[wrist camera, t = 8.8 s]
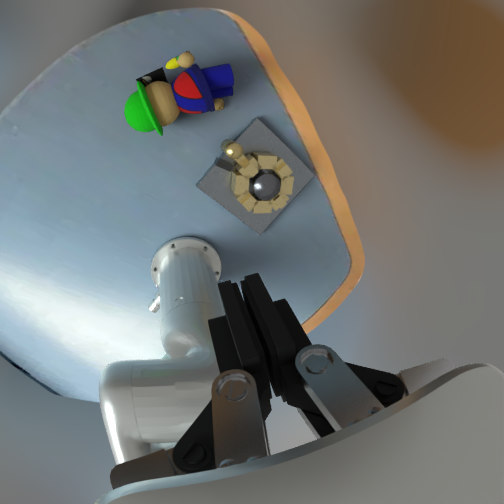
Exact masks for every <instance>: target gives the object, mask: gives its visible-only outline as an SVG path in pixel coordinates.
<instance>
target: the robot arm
mask: <svg viewBox="0 0 504 504" xmlns="http://www.w3.org/2000/svg"><path fill="white" fill-rule="evenodd" d="M172 244H174V245H172ZM205 246H206V247H205ZM155 267H156V268H155ZM221 267H222V266H221V261H220V258H219V255H218V253H217V252H216V250H215V249H214V248H213V247H212V246H211V245H210V244H209V243H207V242H206V241H203V240H201V239H198V238H195V237H179V238H176V239H173V240H170V241H168V242H166V243H165V244H164V245H162V246H161V247H160V248H159V249H158V250H157V252H156V253H155V255H154V257H153V260H152V264H151V275H152V279H153V281H154V283H155V285H156V286H157V288H158V291H157V293H156V297H155V299H153V300H152V302H151V303H150V304H149V306H148V307H149V309H150V310H151V311H152V312H154V313H156V312H157V311H158V310H159V309H160V334H161V341H162V344H163V347H164V349H165V351H166V353H167V355H168V356H169V357H170V359H153V360H126V361H116V362H113V363H110V364H108V365H107V366H106V367H105V368H104V369H103V370H102V373H101V375H100V379H99V400H100V406H101V411H102V416H103V420H104V424H105V428H106V431H107V435H108V438H109V442H110V445H111V449H112V452H113V455H114V458H115V461H116V464H117V465H116V466H115V467H114V468H113V469H112V470H111V473H110V482H111V485H112V488H113V490H112V491H110V492H108V493H106V494H105V495H103V496H102V497H100V498H99V499H98V500H97V501H96V503H95V504H504V374H503V373H502V372H501V371H500V370H499V369H498V368H496V367H495V366H493V365H490V364H487V363H474V364H468V365H465V366H461V367H458V368H456V366H455V365H454V364H453V363H452V362H451V361H449V360H447V359H437V360H434V361H431V362H428V363H425V364H422V365H419V366H415V367H412V368H409V369H405V370H401V371H400V372H399V374H395V375H394V374H391V373H387V372H383V371H379V370H375V369H371V368H367V367H362V366H358V365H354V364H350V363H347V362H344V361H343V360H342V359H341V358H340V357H339V356H338V355H337V353H336V352H335V351H334V350H332V349H331V348H330V347H328V346H325V345H320V344H315V345H312V344H311V342H310V340H309V338H308V337H307V335H306V333H305V332H304V330H303V328H302V326H301V325H300V323H299V321H298V319H297V318H296V316H295V314H294V312H293V311H292V309H291V307H290V306H289V304H288V302H287V301H286V299H281V300H278V301H274V302H273V301H272V299H271V297H270V295H269V293H268V291H267V289H266V287H265V285H264V284H263V282H262V280H261V278H260V276H259V274H258V273H255V274H252V275H248V276H245V280H243V281H240V283H241V288H242V293H243V298H244V300H243V298H242V295H241V293H240V290H239V287H238V285H237V283H231V281H230V280H229V281H225V282H221V283H218V280H219V278H220V275H221ZM269 381H270V382H269ZM270 383H271V386H272V388H273V391H274V393H275V396H276V397H278V396H281V397H282V399H283V402H286V401H287V403H288V405H291V406H294V407H296V408H297V410H298V412H299V413H300V415H301V416H302V418H303V419H304V421H305V422H306V424H307V425H308V427H309V428H310V429H311V431H312V432H313V434H314V435H315V437H316V438H317V440H315V441H312V442H309V443H307V444H304V445H301V446H298V447H295V448H292V449H289V450H286V451H283V452H280V453H277V454H274V455H271V452H270V446H269V440H268V435H267V429H266V423H265V420H266V418H267V417H268V415H269V413H270V412H271V410H272V409H271V404H270V399H271V398H272V394H271V388H270Z"/></svg>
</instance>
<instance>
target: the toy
mask: <svg viewBox="0 0 504 504" xmlns="http://www.w3.org/2000/svg"><path fill="white" fill-rule="evenodd" d="M193 63H194V56H193V55H192V54H190V52H189V51H187V52H186V53H182V54H181V55H180V56H178V57H175V58H173V59H171V60H170V61H169V62H168V63H167V64H166V68H167V69H174V68H177V67H179V66H181V67H184V68H187V67H190V66H191V65H192V64H193ZM136 80H137V87H138V91H136V92H135V93H133V94H132V95H131V96H130V97H129V99H128V100H127V102H126V105H125V118H126V120H127V122H128V124H129V125H130V126H131V127H132V128H134V129H135V130H137V131H141V132H149V131H153V130H155V129H156V131H157V132H158V133H159V134H160V135H161V136H162V135H163V130H162V126H167V125H169V124H171V123H172V122H173V121H175V120H176V118H177V117H178V115H179V112H180V111H182V112H185V113H190V114H198V113H205V112H208V111H211V112H212V111H215V110H217V111H219V110H222V109H223V108H224V103H223V100H222V97H227V96H231V95H233V87H232V86H233V85H234V78H233V72H232V69H231V66H230V64H224V65H218V66H213V67H209V68H204V69H200V68H199V66H198V65H197V64H193V65H192V67H190V68H188V69H186V70H185V71H183V72H182V73H181V74H179V75H178V76H177V78H176V79H175V80H174V81H173V83H172V85H170V84H168V82H167V79H166V76H165V73H164V70H163V67H162V68H160V69H157V70H155V71H153V72H151V73H149V74H146V75H144V76H142V77H140V78H138V79H136Z"/></svg>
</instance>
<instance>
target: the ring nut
mask: <svg viewBox="0 0 504 504" xmlns="http://www.w3.org/2000/svg"><path fill="white" fill-rule="evenodd" d="M221 149H222V151H223V152H224V153H225V154H226V155H227V156H228V157H229V158H231V159H234V160H235V161H236V162H237V164H236V165H235V166H234V167H235V168H236V169H237V170H238V171H232V179H231V190H232V191H233V195H234V196H235V197H236V199H237V200H238V201H239V202H240V203H241V204H242V205H243V206H244V207H245V208H246V209H247V210H248V211H250V210H251V211H252V212H253V213H271V212H272V208H273V209H274V210H275V211H277V210H278V209H279V208H281V209H282V208H283V207H284V206H285V205H286V204H287V203H286V201H288V200H289V198H288V196H287V195H286V194H290V195H292V189H293V181H294V176H292V175H291V173H292V171H291V169H290V168H289V167H288V165H287V164H286V163H285V162H284V161H283V159H282V158H280V157H278V156H276V155H274V154H272V153H265V152H253V155H252V156H251V155H249V154H247V155H246V156H244V155H243V148H242V146H241V145H239V144H238V143H236V142H234V141H233V140H231V139H226V140H224V141H223V142H222V144H221ZM259 169H271V170H272V171H273V172H274V174H275V176H276V177H277V178H278V179H279V181H280V191H279V193H278V194H277V196H276V197H274V198H273V199H270V200H262V199H260V198H258V197H257V196H256V195H252V194H251V193H250V192H249V178H250V177H251V176H252V177H253V176H255V175H256V174H257V173H258V172H259V171H258V170H259Z"/></svg>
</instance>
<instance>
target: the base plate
mask: <svg viewBox="0 0 504 504" xmlns="http://www.w3.org/2000/svg"><path fill="white" fill-rule="evenodd" d="M234 142H236V143H238V144H239V145H241V146H242V148H243V155H244V156H246V155H247V154H249V155H251V156H252V155H253V152H265V153H272V154H274V155H276V156H278V157H280V158H282V159H283V161H284V162H285V163H286V164H287V165H288V167H289V168H290V169H291V171H292V173H291V175H292V176H294V181H293V189H292V195H290V194H286V195H287V196H288V198H289V200H288V201H286V203H287V204H286V205H285V206H284V207H283V208H282V209H281V208H279V209H278V210H277V211H275V210H274V209H273V208H272V212H271V213H253V212H252V211H251V210H250V211H248V210H247V209H246V208H245V207H244V206H243V205H242V204H241V203H240V202H239V201H238V200H237V199H236V197H235V196H234V195H233V191H232V190H231V179H232V171H238V170H237V169H236V168H235V167H234V166H235V165H236V164H237V162H236V161H235V160H234V159H231V158H229V157H228V156H227V155H226V154H225V153H224V152H223V154H222V155H221V156H220V157H219V158H218V157H217V158H216V160H215V162H214V164H213V165H212V166H211V167H210V169H209V170H208V171H207V172H206V173H205V174H204V176H203V177H202V178H201V179H200V180H199V182H198V183H197V184H196V187H198V188H199V189H200V190H202V191H203V192H204V193H206V194H207V195H208V196H210V197H211V198H212V199H214V200H215V201H216V202H217V203H219V204H220V205H221V206H223V207H224V208H225V209H227V210H228V211H229V212H231V213H232V214H233V215H235V216H236V217H237V218H239V219H240V220H241V221H243V222H244V223H245V224H246V225H248V226H249V227H250V228H252V229H253V230H254V231H256V232H257V233H258V234H261V233H262V232H263V231H264V230H265V229H266V228H267V227H268V225H269V224H270V223H271V222H272V221H273V220H274V219H275V218H276V217H277V216H278V215H279V213H280V212H281V211H282V210H283V209H284V208H285V207H286V206H287V205H288V204H289V203H290V201H291V200H292V199H293V198H294V197H295V196H296V195H297V194H298V193H299V192H300V191H301V189H302V188H303V187H304V186H305V185H306V184H307V183H308V182H309V181H310V180H311V179H312V177H313V176H314V174H313V173H312V172H311V171H310V170H309V169H308V167H307V166H306V165H305V164H304V163H303V162H302V161H301V160H300V159H299V158H298V157H297V156H296V155H295V154H294V153H293V152H292V151H291V150H290V149H289V148H288V147H287V146H286V145H285V144H284V143H283V142H282V141H281V140H280V139H279V138H278V137H277V136H276V135H275V134H274V133H273V132H272V131H270V130H269V129H268V128H267V127H266V126H265V125H264V124H263V123H262V122H261V121H260V120H259V119H258V118H255V119H254V120H253V121H252V122H251V123H250V124H249V125H248V126H247V127H246V128H245V129H244V130H243V131H242V132H241V134H240V135H239V136H238V137H237V138H236V139H235V140H234ZM258 171H259V172H258V173H257V174H256V175H255V176H253V177H252V176H251V177H250V178H249V192H250V193H251V194H252V195H256V196H257V197H258V198H260V199H262V200H270V199H273V198H274V197H276V196H277V194H278V193H279V191H280V181H279V179H278V178H277V177H276V176H275V174H274V172H273V171H272V170H271V169H259V170H258Z"/></svg>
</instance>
